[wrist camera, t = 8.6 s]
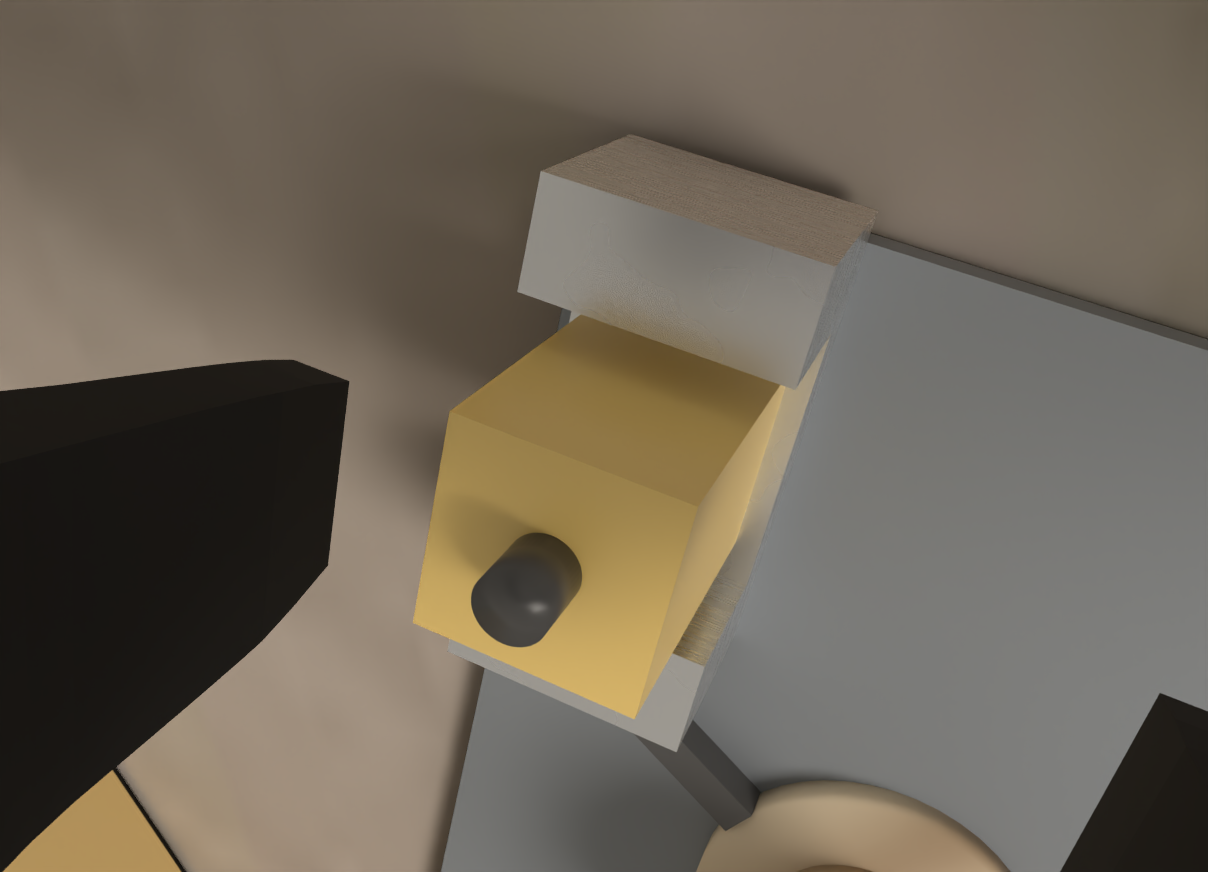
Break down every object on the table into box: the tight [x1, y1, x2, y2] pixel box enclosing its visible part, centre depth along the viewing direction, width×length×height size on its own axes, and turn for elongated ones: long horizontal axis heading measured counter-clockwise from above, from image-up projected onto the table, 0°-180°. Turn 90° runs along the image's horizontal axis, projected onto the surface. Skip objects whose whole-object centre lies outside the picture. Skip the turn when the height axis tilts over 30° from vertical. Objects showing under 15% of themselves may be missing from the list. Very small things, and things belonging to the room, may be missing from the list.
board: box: [441, 233, 1208, 872], centre depth 20 cm, size 18×18×1 cm
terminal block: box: [448, 134, 878, 752], centre depth 18 cm, size 4×8×4 cm, turn 167°
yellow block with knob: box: [413, 315, 785, 719], centre depth 16 cm, size 3×3×6 cm
